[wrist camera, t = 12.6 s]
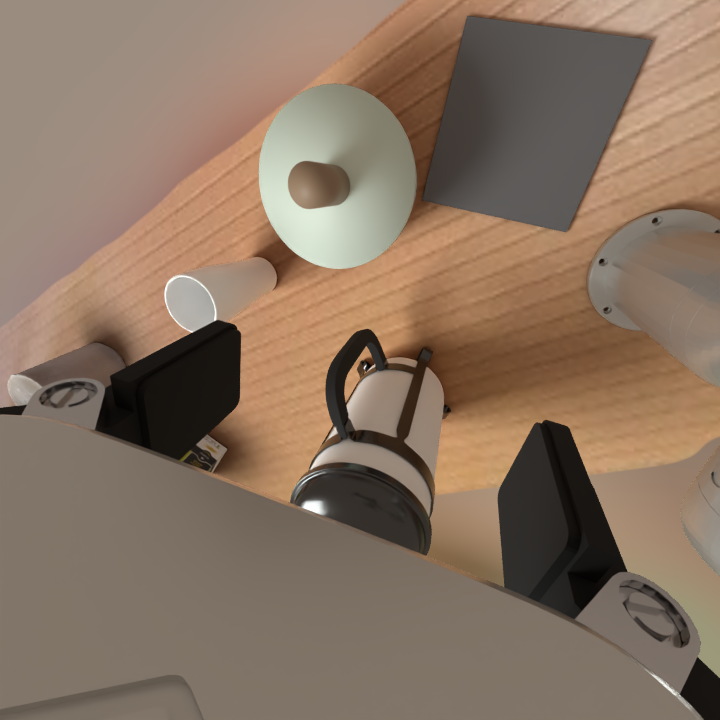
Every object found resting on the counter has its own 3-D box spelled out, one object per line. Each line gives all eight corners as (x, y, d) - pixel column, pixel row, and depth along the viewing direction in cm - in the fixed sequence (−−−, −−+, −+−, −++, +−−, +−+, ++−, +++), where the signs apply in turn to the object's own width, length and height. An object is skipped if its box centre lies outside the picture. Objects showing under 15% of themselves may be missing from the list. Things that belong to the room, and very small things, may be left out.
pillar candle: (111, 392, 72) (32, 438, 59) (77, 352, 69) (-12, 391, 56) (137, 376, 68) (59, 421, 55) (102, 333, 65) (12, 369, 52)
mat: (650, 41, 31) (652, 40, 30) (565, 231, 38) (566, 232, 38) (467, 17, 33) (467, 15, 33) (422, 200, 41) (422, 200, 41)
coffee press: (483, 373, 48) (496, 592, 22) (418, 444, 56) (372, 665, 30) (376, 304, 48) (263, 442, 22) (327, 385, 56) (202, 555, 30)
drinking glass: (267, 307, 53) (201, 346, 40) (233, 275, 52) (154, 304, 39) (291, 274, 50) (228, 305, 37) (255, 240, 49) (177, 259, 36)
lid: (437, 102, 30) (427, 81, 24) (395, 282, 38) (379, 301, 32) (269, 74, 33) (221, 47, 27) (261, 247, 41) (223, 258, 34)
